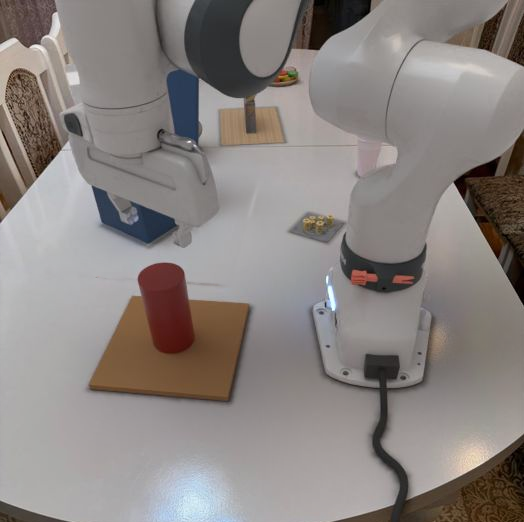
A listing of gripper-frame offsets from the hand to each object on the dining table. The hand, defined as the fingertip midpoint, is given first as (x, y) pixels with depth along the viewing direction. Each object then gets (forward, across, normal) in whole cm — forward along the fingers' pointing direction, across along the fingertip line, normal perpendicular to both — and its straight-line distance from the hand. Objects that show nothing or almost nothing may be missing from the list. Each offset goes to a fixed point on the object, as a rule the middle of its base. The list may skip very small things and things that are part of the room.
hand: (156, 232), depth 63 cm
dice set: (+21, 0, -40) cm, 45 cm away
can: (+19, 0, +1) cm, 19 cm away
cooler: (+20, +30, -24) cm, 43 cm away
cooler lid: (+2, +29, -33) cm, 44 cm away
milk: (+21, +59, -36) cm, 72 cm away
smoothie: (+22, +3, -66) cm, 69 cm away
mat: (+20, 0, +1) cm, 20 cm away
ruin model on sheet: (+22, +43, -74) cm, 89 cm away
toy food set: (+23, +58, -110) cm, 126 cm away
